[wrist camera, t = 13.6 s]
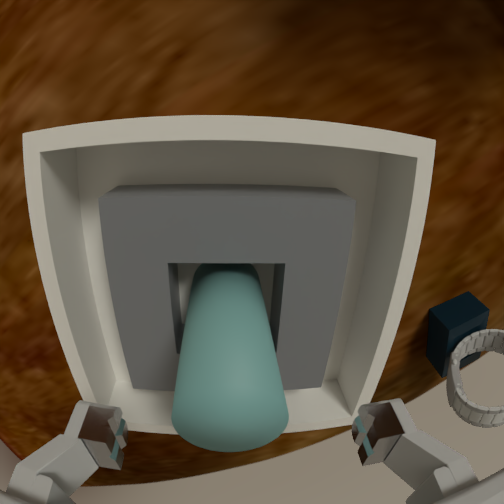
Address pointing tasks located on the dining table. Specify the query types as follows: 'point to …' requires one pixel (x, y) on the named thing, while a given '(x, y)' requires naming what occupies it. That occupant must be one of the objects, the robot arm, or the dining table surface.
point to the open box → (227, 249)
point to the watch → (463, 352)
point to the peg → (228, 364)
